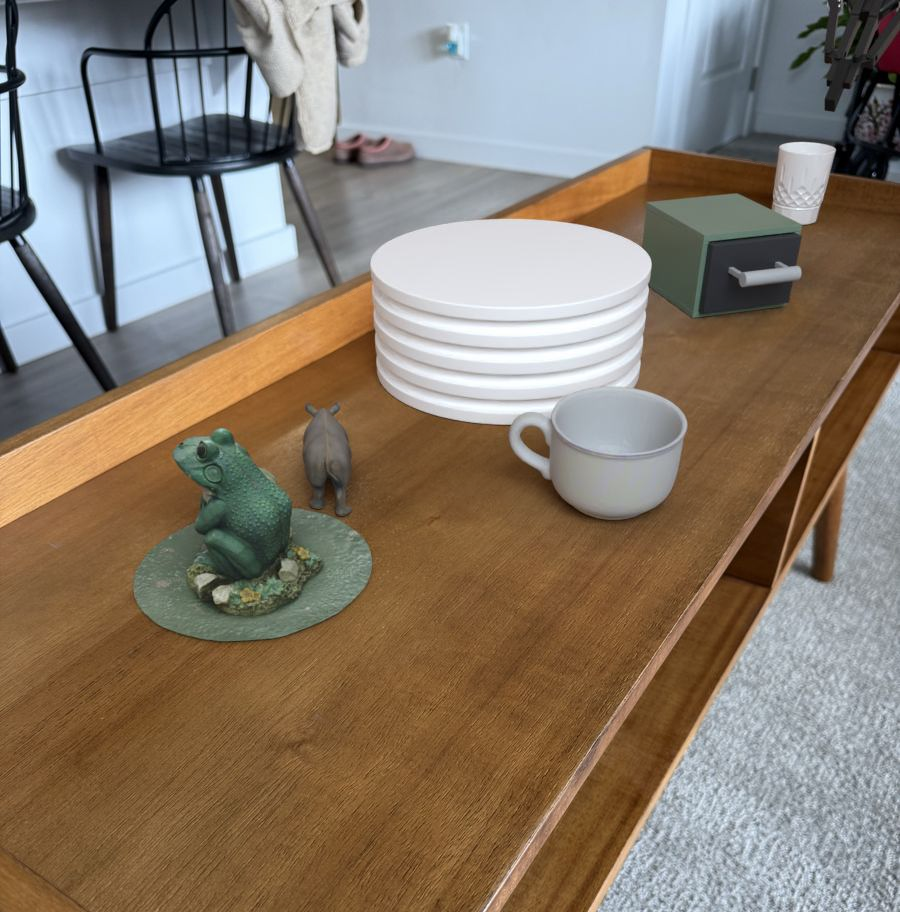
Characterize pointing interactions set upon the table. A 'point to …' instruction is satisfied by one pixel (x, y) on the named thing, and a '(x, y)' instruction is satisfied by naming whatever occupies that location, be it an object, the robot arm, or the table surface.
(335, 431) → the rhino figurine
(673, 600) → the table surface
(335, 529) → the frog figurine
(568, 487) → the teacup
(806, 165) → the white cup
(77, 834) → the table surface
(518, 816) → the table surface
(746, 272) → the drawer
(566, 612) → the table surface
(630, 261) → the plate stack
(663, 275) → the cabinet
